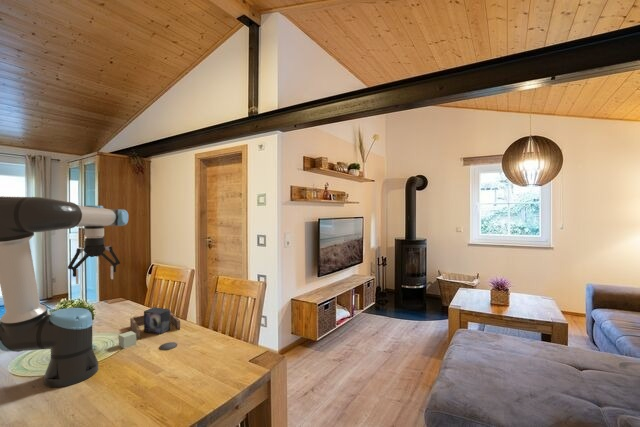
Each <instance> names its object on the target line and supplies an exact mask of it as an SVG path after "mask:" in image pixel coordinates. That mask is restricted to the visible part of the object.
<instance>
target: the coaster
mask: <svg viewBox="0 0 640 427" xmlns="http://www.w3.org/2000/svg"><path fill="white" fill-rule="evenodd" d="M177 346H178V342H176V341H175V342H174V341H172V342H171V341H170V342H165V343H163V344H160V345H159V350H160V351H161V350H162V351H169V350H172V349H175V348H177Z"/></svg>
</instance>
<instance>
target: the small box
mask: <svg viewBox="0 0 640 427" xmlns="http://www.w3.org/2000/svg"><path fill="white" fill-rule="evenodd" d="M170 311H171V310H170V308H162V307H155V306H154V307H151V308H148V309H146V310H144V311H143V315H144V325H143V330H144V332H143V333H148V334H156V335H160V336H161V335H163V334H164V333H165V334H166V333H167V332H169V331H171V323H170Z"/></svg>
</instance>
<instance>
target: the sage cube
mask: <svg viewBox="0 0 640 427" xmlns="http://www.w3.org/2000/svg"><path fill="white" fill-rule="evenodd" d="M136 345H137V338H136V333H134V332H133V331H132V330H130V331H127V332H123V333H120V334H118V347H120V346H121V347H120V348H122V349H128V348H130V347H134V346H136Z"/></svg>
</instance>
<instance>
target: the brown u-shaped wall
mask: <svg viewBox="0 0 640 427" xmlns="http://www.w3.org/2000/svg"><path fill="white" fill-rule="evenodd" d="M129 320H130V322H129V326H130V329H131V331H132V332H134V333H136V341H138V340H141V328H140V326H144V314H143V315H140V316H139V315H138V316H133V317H130V318H129ZM170 325H172V326H173V327H174V328H175V329H176V330H177V331H179V330H181V320H180V319H179V318H178V317H177V316H176V315H175V314H174V313H173V312H172V310H170Z"/></svg>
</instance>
